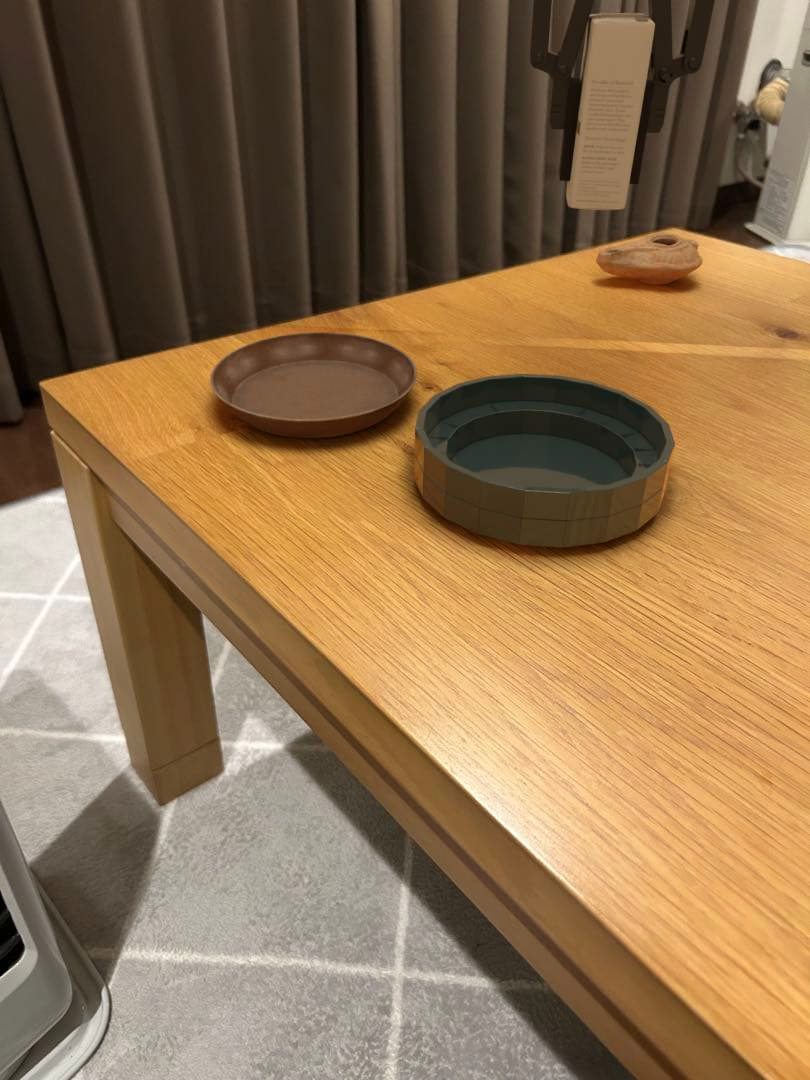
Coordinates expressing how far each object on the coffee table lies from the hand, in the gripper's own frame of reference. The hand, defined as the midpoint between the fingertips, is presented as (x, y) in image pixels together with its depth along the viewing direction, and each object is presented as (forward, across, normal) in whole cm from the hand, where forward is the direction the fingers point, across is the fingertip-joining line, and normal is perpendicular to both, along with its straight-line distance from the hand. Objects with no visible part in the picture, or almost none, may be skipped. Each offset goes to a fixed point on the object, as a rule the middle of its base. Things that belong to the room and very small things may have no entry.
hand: (597, 177), depth 65 cm
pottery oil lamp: (+19, +10, +37) cm, 43 cm away
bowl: (+19, -3, -14) cm, 24 cm away
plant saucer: (+19, -22, -2) cm, 29 cm away
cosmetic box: (+2, 0, 0) cm, 2 cm away
